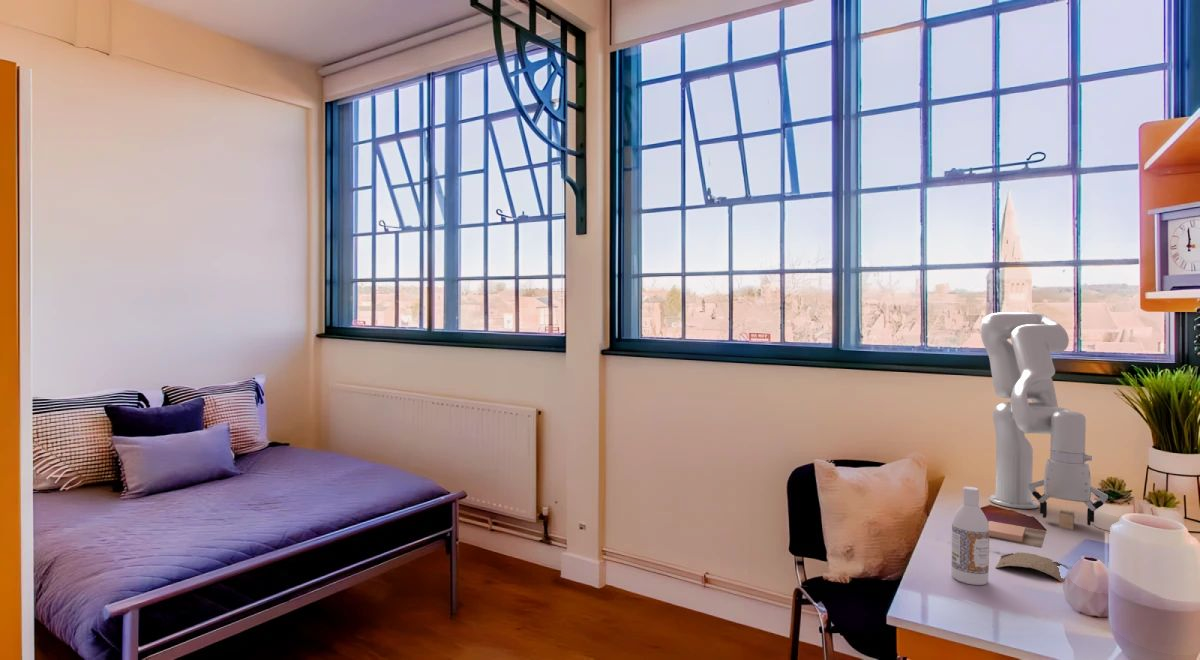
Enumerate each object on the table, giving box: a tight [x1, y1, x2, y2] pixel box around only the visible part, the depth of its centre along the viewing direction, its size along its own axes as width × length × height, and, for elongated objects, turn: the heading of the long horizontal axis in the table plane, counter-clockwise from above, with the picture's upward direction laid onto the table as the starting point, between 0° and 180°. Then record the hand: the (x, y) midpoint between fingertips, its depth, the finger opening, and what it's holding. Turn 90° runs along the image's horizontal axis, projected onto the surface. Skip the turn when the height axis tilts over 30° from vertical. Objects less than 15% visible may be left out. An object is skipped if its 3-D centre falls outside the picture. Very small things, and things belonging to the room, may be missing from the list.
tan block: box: [1058, 508, 1075, 531], centre depth 167 cm, size 12×5×5 cm, turn 141°
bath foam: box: [951, 486, 990, 586], centre depth 136 cm, size 7×7×20 cm
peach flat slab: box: [988, 520, 1026, 542], centre depth 161 cm, size 2×8×9 cm
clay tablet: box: [994, 552, 1065, 583], centre depth 142 cm, size 14×10×3 cm
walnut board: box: [987, 520, 1047, 549], centre depth 162 cm, size 16×14×2 cm
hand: (1066, 520), depth 168 cm, fingers open, 9 cm apart
